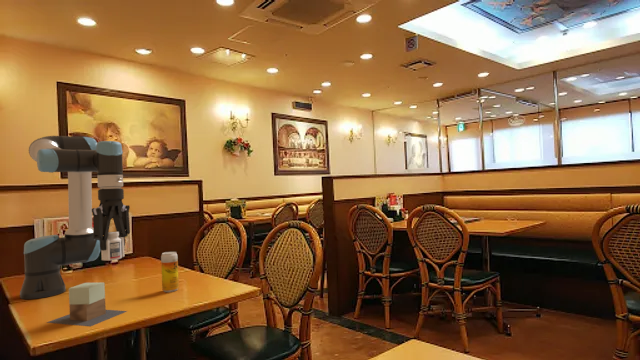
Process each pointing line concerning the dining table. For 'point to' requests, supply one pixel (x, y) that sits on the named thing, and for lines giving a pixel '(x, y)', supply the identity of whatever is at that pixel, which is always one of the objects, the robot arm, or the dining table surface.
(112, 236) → the pill bottle
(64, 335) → the dining table surface
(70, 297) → the block upper
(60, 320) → the mat
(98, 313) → the block lower
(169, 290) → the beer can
